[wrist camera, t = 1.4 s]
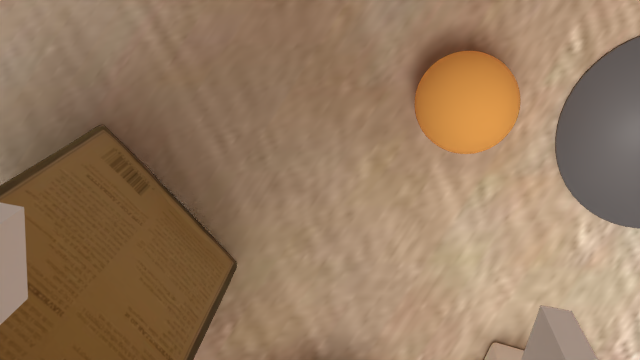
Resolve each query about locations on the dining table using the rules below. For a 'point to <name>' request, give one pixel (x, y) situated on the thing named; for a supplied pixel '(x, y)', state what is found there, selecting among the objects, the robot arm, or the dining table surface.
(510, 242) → the dining table surface
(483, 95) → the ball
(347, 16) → the dining table surface
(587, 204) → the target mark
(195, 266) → the food packaging
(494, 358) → the medicine bottle
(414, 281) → the dining table surface
